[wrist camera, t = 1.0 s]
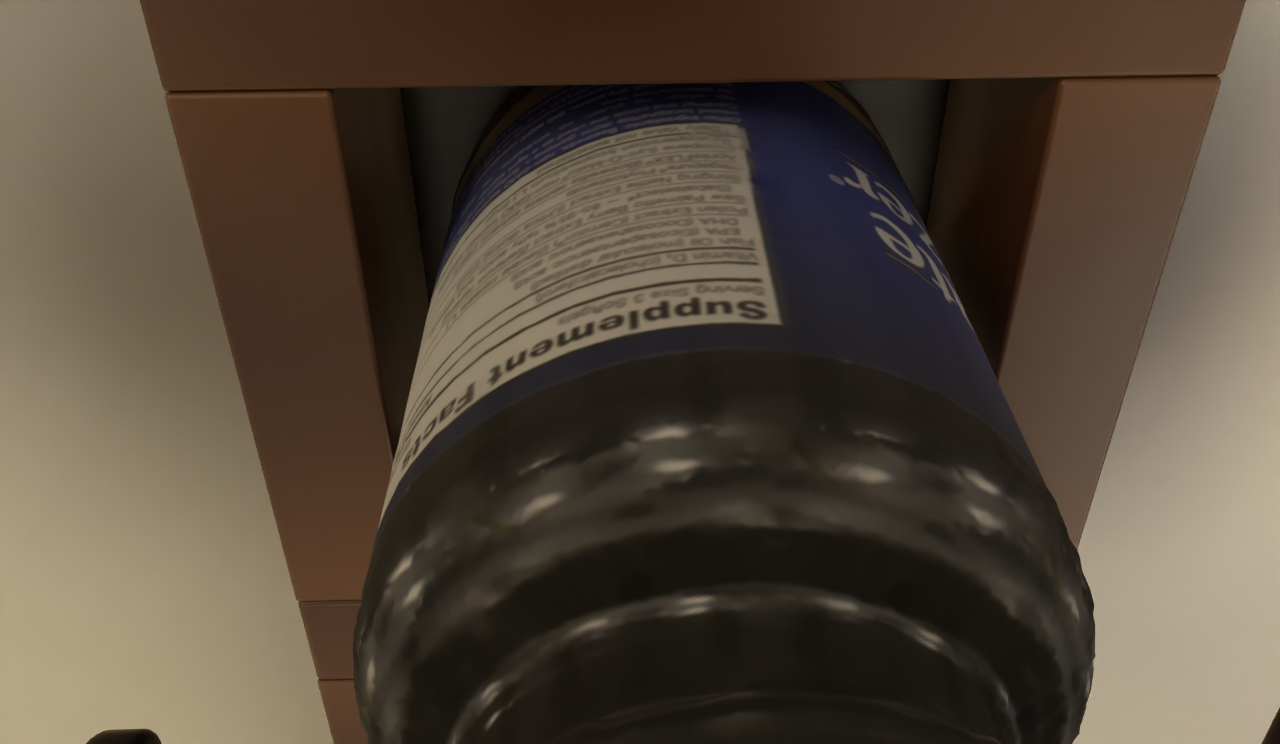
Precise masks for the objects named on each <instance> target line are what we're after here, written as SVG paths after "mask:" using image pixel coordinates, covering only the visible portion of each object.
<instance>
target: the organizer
mask: <svg viewBox="0 0 1280 744" xmlns="http://www.w3.org/2000/svg"><path fill="white" fill-rule="evenodd" d="M1245 1H1246V0H140V3H141V7H142V10H143V14H144V18H145V22H146V26H147V29H148V33H149V37H150V41H151V45H152V49H153V52H154V56H155V60H156V64H157V68H158V72H159V75H160V79H161V83H162V87H163V88H164V90H166V91H167V93H166V96H165V99H166V103H167V107H168V111H169V115H170V119H171V122H172V126H173V130H174V134H175V138H176V141H177V145H178V149H179V153H180V157H181V161H182V164H183V168H184V172H185V176H186V180H187V183H188V187H189V191H190V195H191V199H192V203H193V206H194V210H195V214H196V218H197V222H198V226H199V229H200V233H201V237H202V241H203V245H204V248H205V252H206V256H207V260H208V264H209V268H210V271H211V275H212V279H213V283H214V287H215V291H216V294H217V298H218V302H219V306H220V310H221V313H222V317H223V321H224V325H225V329H226V333H227V336H228V340H229V344H230V348H231V352H232V356H233V359H234V363H235V367H236V371H237V375H238V378H239V382H240V386H241V390H242V394H243V398H244V401H245V405H246V409H247V413H248V417H249V421H250V424H251V428H252V432H253V436H254V440H255V443H256V447H257V451H258V455H259V459H260V463H261V466H262V470H263V474H264V478H265V482H266V486H267V489H268V493H269V497H270V501H271V505H272V508H273V512H274V516H275V520H276V524H277V528H278V531H279V535H280V539H281V543H282V547H283V551H284V554H285V558H286V562H287V566H288V570H289V573H290V577H291V581H292V585H293V589H294V593H295V596H296V599H297V601H299V602H298V604H299V608H300V611H301V615H302V619H303V623H304V627H305V631H306V634H307V638H308V642H309V646H310V650H311V654H312V657H313V661H314V665H315V669H316V673H317V676H318V678H319V679H318V685H319V689H320V693H321V696H322V700H323V704H324V708H325V712H326V716H327V719H328V723H329V727H330V731H331V735H332V738H333V742H334V744H368V742H367V738H366V733H365V730H364V728H363V726H362V724H361V721H360V717H359V708H358V704H357V701H356V691H355V688H354V660H353V641H354V629H355V627H356V622H357V613H358V610H359V607H360V604H361V597H362V591H363V586H364V582H365V579H366V576H367V572H368V569H369V564H370V560H371V555H372V550H373V546H374V541H375V537H376V534H377V531H378V527H379V523H380V518H381V514H382V510H383V506H384V502H385V498H386V494H387V489H388V485H389V481H390V477H391V471H392V466H393V462H394V458H395V454H396V451H397V447H398V443H399V438H400V434H401V429H402V425H403V420H404V416H405V411H406V406H407V402H408V397H409V393H410V389H411V385H412V380H413V376H414V372H415V368H416V363H417V359H418V355H419V351H420V346H421V341H422V337H423V332H424V328H425V323H426V318H427V314H428V311H429V302H428V295H427V287H426V280H425V272H424V265H423V257H422V250H421V242H420V235H419V227H418V220H417V212H416V205H415V197H414V190H413V182H412V175H411V167H410V160H409V152H408V145H407V137H406V130H405V123H404V115H403V108H402V100H401V93H400V88H414V87H478V86H542V85H606V84H670V83H734V82H798V81H862V80H926V79H950V85H949V91H948V97H947V103H946V109H945V116H944V122H943V128H942V134H941V140H940V146H939V153H938V159H937V165H936V171H935V177H934V183H933V190H932V196H931V202H930V208H929V214H928V220H927V227H926V229H927V232H928V234H929V236H930V238H931V240H932V242H933V244H934V247H935V249H936V251H937V253H938V255H939V257H940V259H941V261H942V263H943V265H944V267H945V269H946V271H947V272H948V274H949V275H950V278H951V281H952V284H953V286H954V288H955V291H956V293H957V295H958V297H959V299H960V301H961V303H962V305H963V308H964V310H965V313H966V315H967V317H968V319H969V322H970V323H971V325H972V327H973V329H974V331H975V333H976V335H977V337H978V340H979V342H980V344H981V345H982V348H983V350H984V352H985V354H986V357H987V359H988V361H989V363H990V366H991V368H992V370H993V372H994V375H995V377H996V379H997V381H998V383H999V386H1000V388H1001V390H1002V392H1003V394H1004V396H1005V398H1006V400H1007V402H1008V405H1009V407H1010V409H1011V411H1012V413H1013V415H1014V417H1015V419H1016V421H1017V424H1018V426H1019V428H1020V430H1021V432H1022V434H1023V436H1024V439H1025V441H1026V443H1027V445H1028V447H1029V449H1030V451H1031V454H1032V456H1033V458H1034V460H1035V462H1036V464H1037V467H1038V469H1039V471H1040V473H1041V475H1042V477H1043V479H1044V481H1045V484H1046V486H1047V488H1048V490H1049V491H1050V492H1051V494H1052V496H1053V497H1054V499H1055V501H1056V503H1057V506H1058V508H1059V511H1060V514H1061V516H1062V517H1063V520H1064V523H1065V526H1066V527H1067V532H1068V535H1069V538H1070V540H1071V542H1072V543H1073V545H1074V546H1075V548H1076V549H1077V548H1078V545H1079V542H1080V538H1081V535H1082V532H1083V529H1084V525H1085V522H1086V519H1087V516H1088V512H1089V509H1090V506H1091V503H1092V499H1093V496H1094V493H1095V490H1096V486H1097V483H1098V480H1099V477H1100V473H1101V470H1102V467H1103V464H1104V460H1105V457H1106V454H1107V451H1108V447H1109V444H1110V441H1111V438H1112V434H1113V431H1114V428H1115V425H1116V421H1117V418H1118V415H1119V412H1120V408H1121V405H1122V402H1123V399H1124V395H1125V392H1126V389H1127V386H1128V382H1129V379H1130V376H1131V373H1132V369H1133V366H1134V363H1135V360H1136V356H1137V353H1138V350H1139V347H1140V343H1141V340H1142V337H1143V334H1144V330H1145V327H1146V324H1147V321H1148V317H1149V314H1150V311H1151V308H1152V304H1153V301H1154V298H1155V295H1156V291H1157V288H1158V285H1159V282H1160V278H1161V275H1162V272H1163V269H1164V265H1165V262H1166V259H1167V256H1168V252H1169V249H1170V246H1171V243H1172V239H1173V236H1174V233H1175V230H1176V226H1177V223H1178V220H1179V217H1180V213H1181V210H1182V207H1183V204H1184V200H1185V197H1186V194H1187V191H1188V187H1189V184H1190V181H1191V178H1192V174H1193V171H1194V168H1195V165H1196V161H1197V158H1198V155H1199V152H1200V148H1201V145H1202V142H1203V139H1204V135H1205V132H1206V129H1207V126H1208V122H1209V119H1210V116H1211V113H1212V109H1213V106H1214V103H1215V100H1216V96H1217V93H1218V90H1219V87H1220V83H1221V79H1220V77H1219V76H1218V75H1219V74H1222V73H1223V71H1224V69H1225V66H1226V63H1227V60H1228V56H1229V53H1230V50H1231V47H1232V43H1233V40H1234V37H1235V34H1236V30H1237V27H1238V24H1239V21H1240V17H1241V14H1242V11H1243V8H1244V4H1245Z"/></svg>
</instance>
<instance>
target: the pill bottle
mask: <svg viewBox="0 0 1280 744" xmlns="http://www.w3.org/2000/svg"><path fill="white" fill-rule="evenodd" d="M1093 611H1094V603H1093V599H1092V595H1091V591H1090V588H1089V586H1088V583H1087V581H1086V579H1085V577H1084V574H1083V572H1082V568H1081V562H1080V557H1079V554H1078V551H1077V549H1076V548H1075V546H1074V545H1073V543H1072V542H1071V540H1070V538H1069V535H1068V532H1067V527H1066V526H1065V523H1064V520H1063V517H1062V516H1061V514H1060V511H1059V508H1058V506H1057V503H1056V501H1055V499H1054V497H1053V496H1052V494H1051V492H1050V491H1049V490H1048V488H1047V486H1046V484H1045V481H1044V479H1043V477H1042V475H1041V473H1040V471H1039V469H1038V467H1037V464H1036V462H1035V460H1034V458H1033V456H1032V454H1031V451H1030V449H1029V447H1028V445H1027V443H1026V441H1025V439H1024V436H1023V434H1022V432H1021V430H1020V428H1019V426H1018V424H1017V421H1016V419H1015V417H1014V415H1013V413H1012V411H1011V409H1010V407H1009V405H1008V402H1007V400H1006V398H1005V396H1004V394H1003V392H1002V390H1001V388H1000V386H999V383H998V381H997V379H996V377H995V375H994V372H993V370H992V368H991V366H990V363H989V361H988V359H987V357H986V354H985V352H984V350H983V348H982V345H981V344H980V342H979V340H978V337H977V335H976V333H975V331H974V329H973V327H972V325H971V323H970V322H969V319H968V317H967V315H966V313H965V310H964V308H963V305H962V303H961V301H960V299H959V297H958V295H957V293H956V291H955V288H954V286H953V284H952V281H951V278H950V275H949V274H948V272H947V271H946V269H945V267H944V265H943V263H942V261H941V259H940V257H939V255H938V253H937V251H936V249H935V247H934V244H933V242H932V240H931V238H930V236H929V234H928V232H927V229H926V227H925V225H924V223H923V221H922V219H921V217H920V215H919V212H918V210H917V208H916V206H915V204H914V202H913V200H912V198H911V196H910V194H909V191H908V189H907V187H906V185H905V183H904V181H903V179H902V177H901V175H900V173H899V171H898V168H897V166H896V164H895V162H894V160H893V158H892V156H891V153H890V151H889V149H888V147H887V145H886V144H885V142H884V140H883V139H882V137H881V135H880V134H879V132H878V131H877V129H876V127H875V126H874V124H873V122H872V121H871V119H870V117H869V115H868V114H867V112H866V111H865V110H864V108H863V107H862V106H861V105H860V104H859V103H858V102H857V101H856V99H855V98H853V97H852V96H851V95H850V94H849V93H848V92H847V91H846V90H845V89H843V88H842V87H841V86H840V85H839V84H838V83H836V82H834V81H798V82H734V83H670V84H606V85H542V86H524V87H523V88H522V89H521V90H519V91H518V92H517V93H516V94H515V95H513V96H512V97H511V98H510V99H509V100H508V101H507V102H506V103H505V104H504V105H503V106H502V107H501V108H500V110H499V111H498V112H497V113H496V115H495V116H494V117H493V119H492V120H491V122H490V124H489V125H488V127H487V129H486V130H485V132H484V134H483V136H482V137H481V139H480V141H479V143H478V144H477V146H476V148H475V150H474V152H473V154H472V156H471V158H470V160H469V162H468V164H467V166H466V168H465V170H464V171H463V173H462V175H461V177H460V179H459V182H458V185H457V188H456V192H455V196H454V199H453V206H452V215H451V220H450V224H449V228H448V232H447V236H446V240H445V244H444V248H443V252H442V256H441V260H440V264H439V269H438V273H437V277H436V281H435V286H434V290H433V294H432V298H431V302H430V307H429V311H428V314H427V318H426V323H425V328H424V332H423V337H422V341H421V346H420V351H419V355H418V359H417V363H416V368H415V372H414V376H413V380H412V385H411V389H410V393H409V397H408V402H407V406H406V411H405V416H404V420H403V425H402V429H401V434H400V438H399V443H398V447H397V451H396V454H395V458H394V462H393V466H392V471H391V477H390V481H389V485H388V489H387V494H386V498H385V502H384V506H383V510H382V514H381V518H380V523H379V527H378V531H377V534H376V537H375V541H374V546H373V550H372V555H371V560H370V564H369V569H368V572H367V576H366V579H365V582H364V586H363V591H362V597H361V604H360V607H359V610H358V613H357V622H356V627H355V629H354V641H353V660H354V688H355V691H356V701H357V704H358V708H359V717H360V721H361V724H362V726H363V728H364V730H365V733H366V738H367V742H368V744H1072V743H1073V741H1074V740H1075V738H1076V737H1077V736H1078V734H1079V731H1080V724H1081V722H1082V719H1083V716H1084V713H1085V709H1086V703H1087V700H1088V697H1089V694H1090V691H1091V685H1092V678H1093V670H1094V668H1093V660H1094V657H1095V622H1094V617H1093Z"/></svg>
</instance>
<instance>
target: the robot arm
mask: <svg viewBox="0 0 1280 744" xmlns="http://www.w3.org/2000/svg"><path fill="white" fill-rule="evenodd" d="M86 744H161V741H160V739H159V737H158V736H157V734H155V733H154V732H153V731H151V730H149V729H124V730H107V731H103V732H101V733H99V734H97V735H95V736H94V737H93V738H91V739H90V740H89V741H88V742H87V743H86ZM1262 744H1280V708H1279V710H1278V712H1277V714H1276V716H1275V718H1274V720H1273V722H1272V724H1271V726H1270V728H1269V730H1268V732H1267V734H1266V736H1265V738H1264V740H1263V742H1262Z"/></svg>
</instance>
